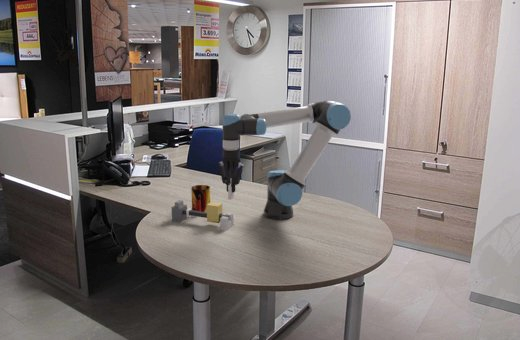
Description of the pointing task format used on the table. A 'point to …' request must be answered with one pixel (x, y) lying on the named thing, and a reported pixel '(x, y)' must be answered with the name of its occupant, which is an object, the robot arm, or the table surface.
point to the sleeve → (214, 212)
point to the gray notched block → (226, 222)
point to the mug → (200, 197)
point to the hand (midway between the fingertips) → (230, 198)
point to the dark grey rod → (198, 213)
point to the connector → (178, 211)
